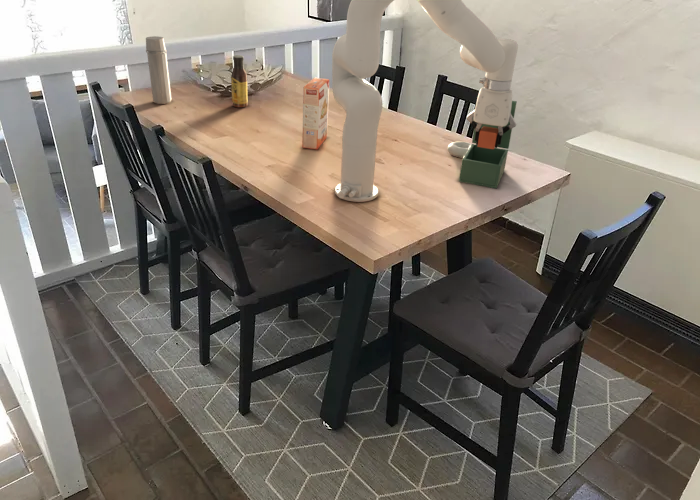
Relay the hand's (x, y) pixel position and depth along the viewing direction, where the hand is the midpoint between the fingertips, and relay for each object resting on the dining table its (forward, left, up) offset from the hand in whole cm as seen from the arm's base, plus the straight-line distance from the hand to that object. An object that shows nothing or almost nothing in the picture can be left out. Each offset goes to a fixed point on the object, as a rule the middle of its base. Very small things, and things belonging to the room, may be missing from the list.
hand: (487, 144), depth 174 cm
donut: (+18, +10, -11) cm, 24 cm away
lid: (+7, 0, +4) cm, 9 cm away
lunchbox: (+2, 0, -11) cm, 11 cm away
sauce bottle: (+29, +104, -11) cm, 109 cm away
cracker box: (+4, +59, -11) cm, 60 cm away
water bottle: (+17, +133, -11) cm, 135 cm away
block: (0, 0, 0) cm, 0 cm away
